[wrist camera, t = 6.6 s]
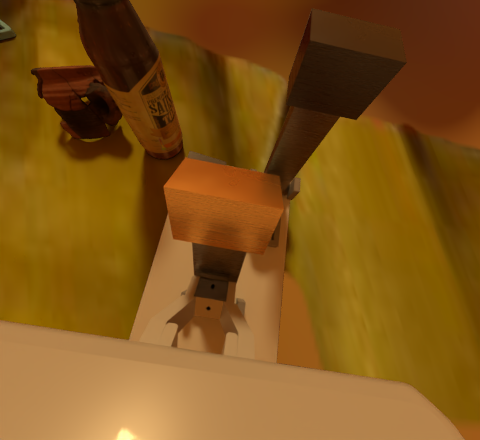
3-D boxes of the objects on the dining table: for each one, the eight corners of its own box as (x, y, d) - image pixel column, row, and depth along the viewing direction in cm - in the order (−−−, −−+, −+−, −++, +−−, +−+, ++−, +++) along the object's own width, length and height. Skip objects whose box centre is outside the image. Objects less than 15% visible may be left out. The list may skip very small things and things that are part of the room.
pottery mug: (53, 139, 27) (1, 69, 21) (103, 122, 33) (73, 65, 28) (114, 145, 24) (73, 65, 18) (156, 125, 31) (135, 62, 25)
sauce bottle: (179, 164, 27) (76, -90, 8) (139, 157, 27) (-69, -124, 8) (188, 131, 29) (123, -136, 10) (151, 124, 29) (9, -165, 10)
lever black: (252, 194, 22) (309, 40, 7) (254, 178, 23) (312, 8, 8) (285, 200, 22) (406, 62, 8) (287, 184, 23) (400, 29, 8)
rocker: (183, 179, 21) (183, 172, 19) (190, 158, 22) (189, 150, 20) (219, 189, 22) (221, 183, 20) (223, 168, 22) (226, 162, 21)
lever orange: (187, 317, 17) (163, 186, 6) (194, 293, 19) (185, 157, 8) (231, 324, 17) (284, 209, 6) (234, 299, 19) (279, 175, 8)
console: (143, 333, 20) (108, 360, 14) (189, 172, 27) (179, 142, 21) (268, 352, 21) (287, 386, 15) (283, 190, 27) (301, 167, 21)
